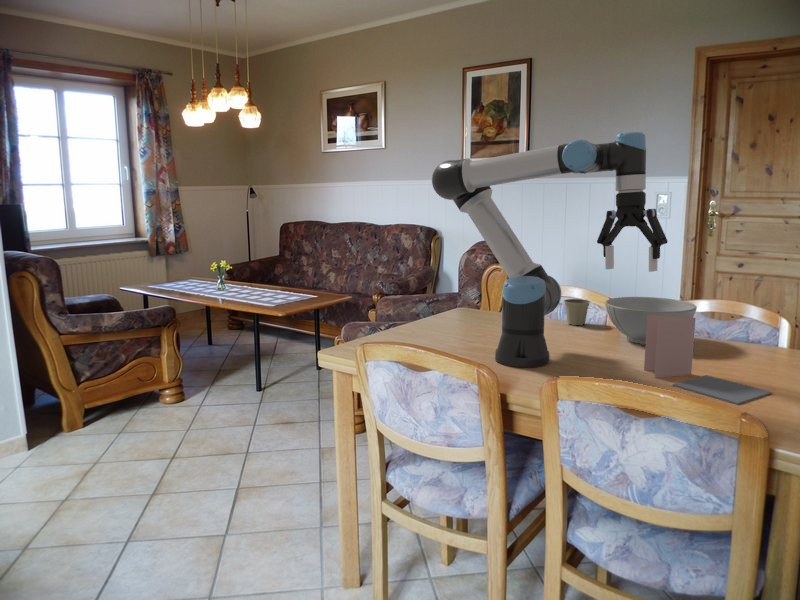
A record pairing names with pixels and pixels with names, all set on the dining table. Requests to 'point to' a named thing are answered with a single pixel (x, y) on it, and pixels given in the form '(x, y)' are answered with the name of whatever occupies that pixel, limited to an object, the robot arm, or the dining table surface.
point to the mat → (722, 389)
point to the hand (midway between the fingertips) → (630, 270)
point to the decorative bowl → (643, 313)
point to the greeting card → (669, 345)
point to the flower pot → (576, 311)
